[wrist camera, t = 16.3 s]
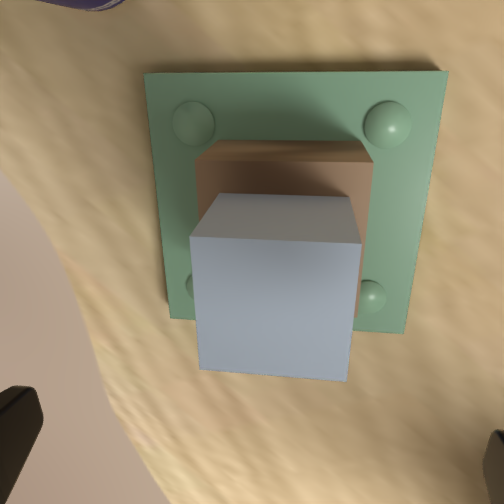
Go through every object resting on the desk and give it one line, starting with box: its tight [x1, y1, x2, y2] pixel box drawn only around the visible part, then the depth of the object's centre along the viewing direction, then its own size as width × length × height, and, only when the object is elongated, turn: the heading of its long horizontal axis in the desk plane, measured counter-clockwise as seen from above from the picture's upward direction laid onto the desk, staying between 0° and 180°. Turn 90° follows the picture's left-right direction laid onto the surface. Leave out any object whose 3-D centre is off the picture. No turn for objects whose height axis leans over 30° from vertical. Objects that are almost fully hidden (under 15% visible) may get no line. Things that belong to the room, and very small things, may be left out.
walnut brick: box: [195, 140, 374, 318], centre depth 17 cm, size 6×6×4 cm
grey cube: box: [189, 193, 362, 382], centre depth 14 cm, size 4×4×4 cm
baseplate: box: [143, 70, 449, 334], centre depth 19 cm, size 12×12×1 cm
